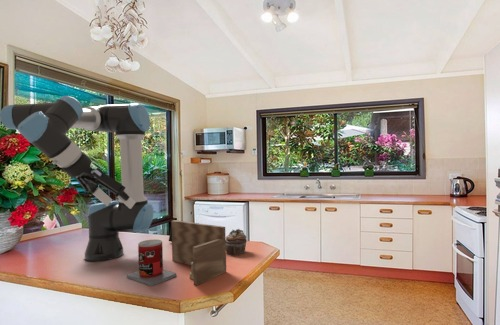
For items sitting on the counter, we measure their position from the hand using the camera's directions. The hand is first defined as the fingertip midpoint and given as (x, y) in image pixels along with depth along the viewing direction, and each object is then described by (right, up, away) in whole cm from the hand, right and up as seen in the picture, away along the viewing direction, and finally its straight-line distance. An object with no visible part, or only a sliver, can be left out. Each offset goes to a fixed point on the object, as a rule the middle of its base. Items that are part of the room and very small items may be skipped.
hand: (120, 204), depth 103 cm
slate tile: (+9, -26, +4) cm, 27 cm away
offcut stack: (+27, -25, +4) cm, 37 cm away
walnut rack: (+19, -25, +9) cm, 33 cm away
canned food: (+9, -25, +4) cm, 27 cm away
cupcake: (+37, -25, +31) cm, 54 cm away
